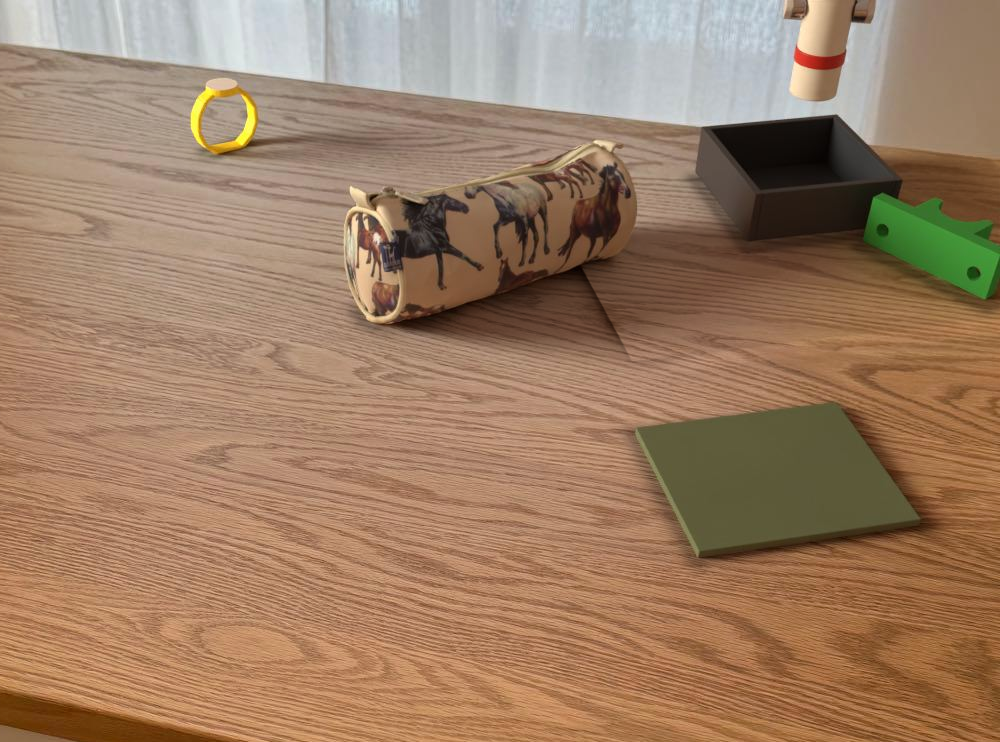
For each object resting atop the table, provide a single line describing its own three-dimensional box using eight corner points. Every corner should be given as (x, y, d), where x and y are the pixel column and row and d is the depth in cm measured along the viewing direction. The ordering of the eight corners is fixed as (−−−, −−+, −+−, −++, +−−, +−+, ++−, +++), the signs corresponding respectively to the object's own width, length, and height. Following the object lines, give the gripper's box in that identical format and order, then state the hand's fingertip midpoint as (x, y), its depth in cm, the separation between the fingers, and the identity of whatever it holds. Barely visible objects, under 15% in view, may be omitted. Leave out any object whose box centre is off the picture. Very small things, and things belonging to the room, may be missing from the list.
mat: (834, 408, 83) (836, 401, 83) (919, 526, 74) (921, 519, 74) (634, 434, 81) (635, 427, 80) (697, 559, 72) (698, 551, 72)
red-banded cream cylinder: (825, 80, 98) (851, -53, 92) (845, 100, 96) (874, -36, 89) (780, 84, 98) (803, -50, 91) (799, 104, 95) (824, -32, 88)
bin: (825, 166, 109) (837, 113, 106) (888, 234, 100) (903, 179, 97) (693, 179, 107) (701, 126, 104) (746, 250, 98) (756, 194, 95)
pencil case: (389, 351, 88) (383, 226, 81) (337, 295, 93) (328, 174, 87) (641, 272, 96) (655, 152, 89) (580, 225, 101) (589, 108, 94)
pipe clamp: (1010, 293, 94) (1030, 238, 91) (981, 309, 92) (1000, 255, 89) (888, 234, 100) (903, 181, 97) (859, 248, 99) (873, 195, 95)
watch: (205, 164, 109) (196, 98, 105) (191, 152, 111) (181, 87, 107) (265, 146, 112) (258, 80, 108) (249, 135, 113) (242, 70, 109)
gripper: (709, -195, 91) (689, -10, 90) (1000, -185, 88) (981, 5, 88) (703, -144, 97) (684, 29, 97) (974, -134, 95) (956, 44, 94)
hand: (828, 18), depth 92 cm, fingers closed on red-banded cream cylinder, 3 cm apart
